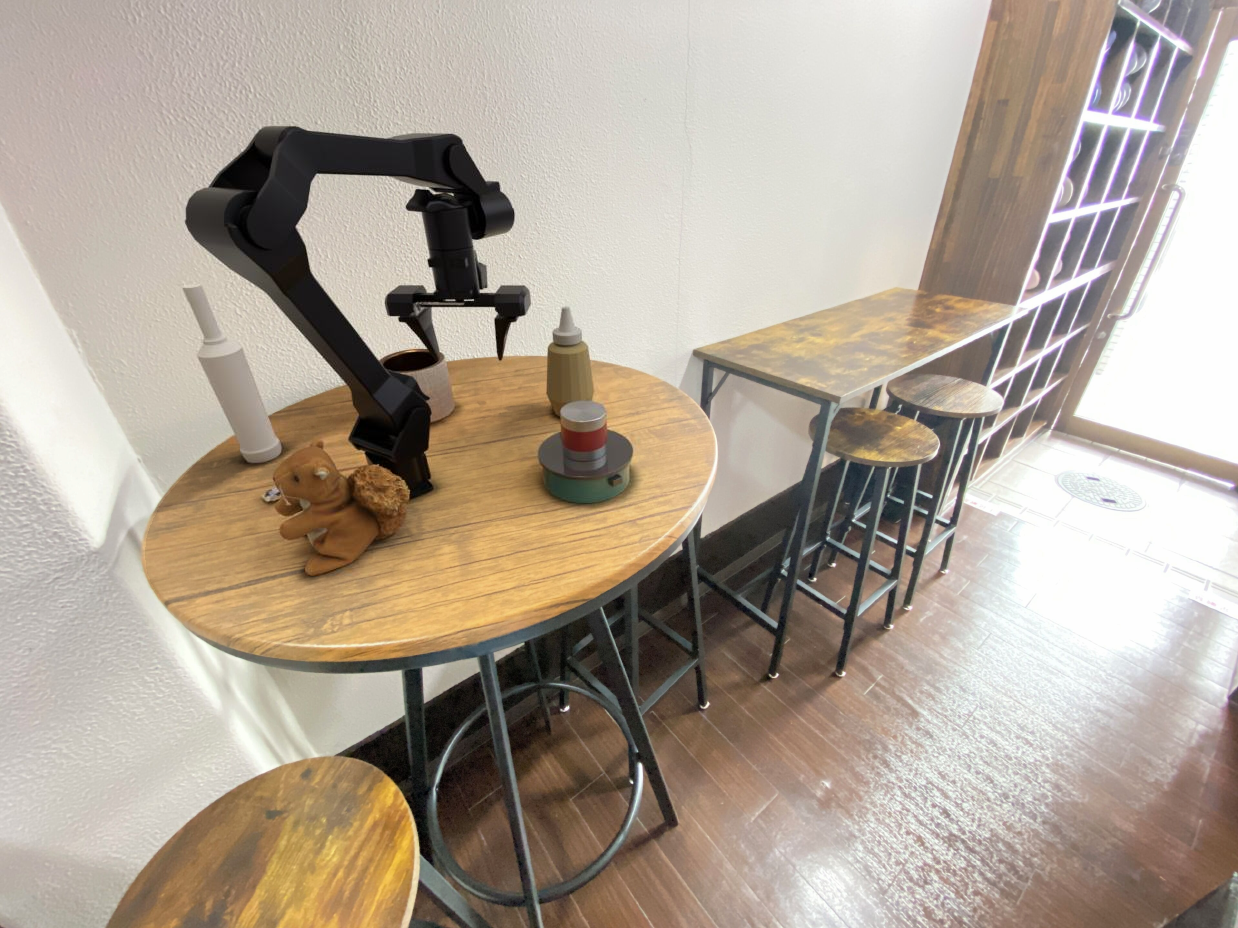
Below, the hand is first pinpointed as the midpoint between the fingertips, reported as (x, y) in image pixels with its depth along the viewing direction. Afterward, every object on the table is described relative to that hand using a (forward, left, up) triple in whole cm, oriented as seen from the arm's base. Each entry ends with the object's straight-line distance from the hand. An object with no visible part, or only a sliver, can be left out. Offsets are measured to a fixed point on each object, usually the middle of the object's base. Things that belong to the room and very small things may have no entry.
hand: (469, 359), depth 78 cm
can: (+6, -20, -8) cm, 22 cm away
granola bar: (-27, +3, -13) cm, 30 cm away
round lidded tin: (+6, -20, -13) cm, 25 cm away
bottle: (-28, +16, -13) cm, 35 cm away
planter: (-4, +14, -13) cm, 20 cm away
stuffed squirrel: (-23, -13, -13) cm, 30 cm away
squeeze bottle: (+16, -2, -13) cm, 21 cm away
